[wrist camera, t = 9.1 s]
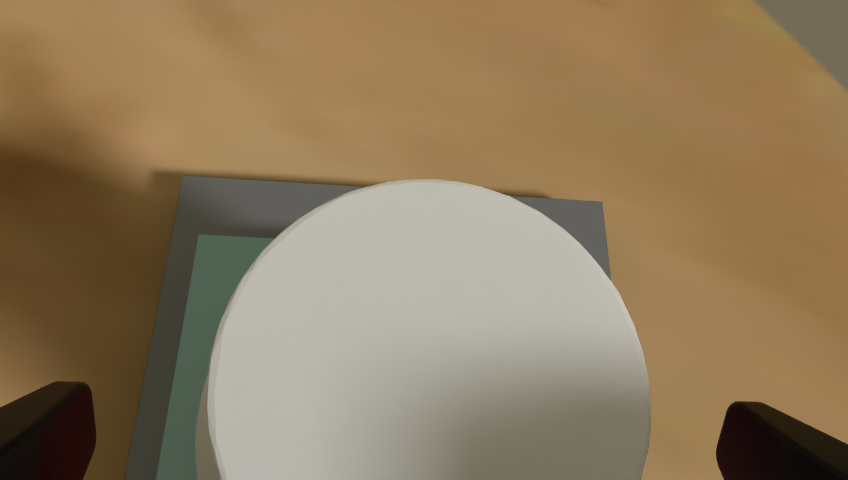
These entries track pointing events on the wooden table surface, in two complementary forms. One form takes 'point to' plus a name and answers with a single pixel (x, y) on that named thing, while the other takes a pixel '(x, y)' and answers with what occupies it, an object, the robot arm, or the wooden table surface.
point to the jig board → (216, 282)
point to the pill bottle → (424, 349)
